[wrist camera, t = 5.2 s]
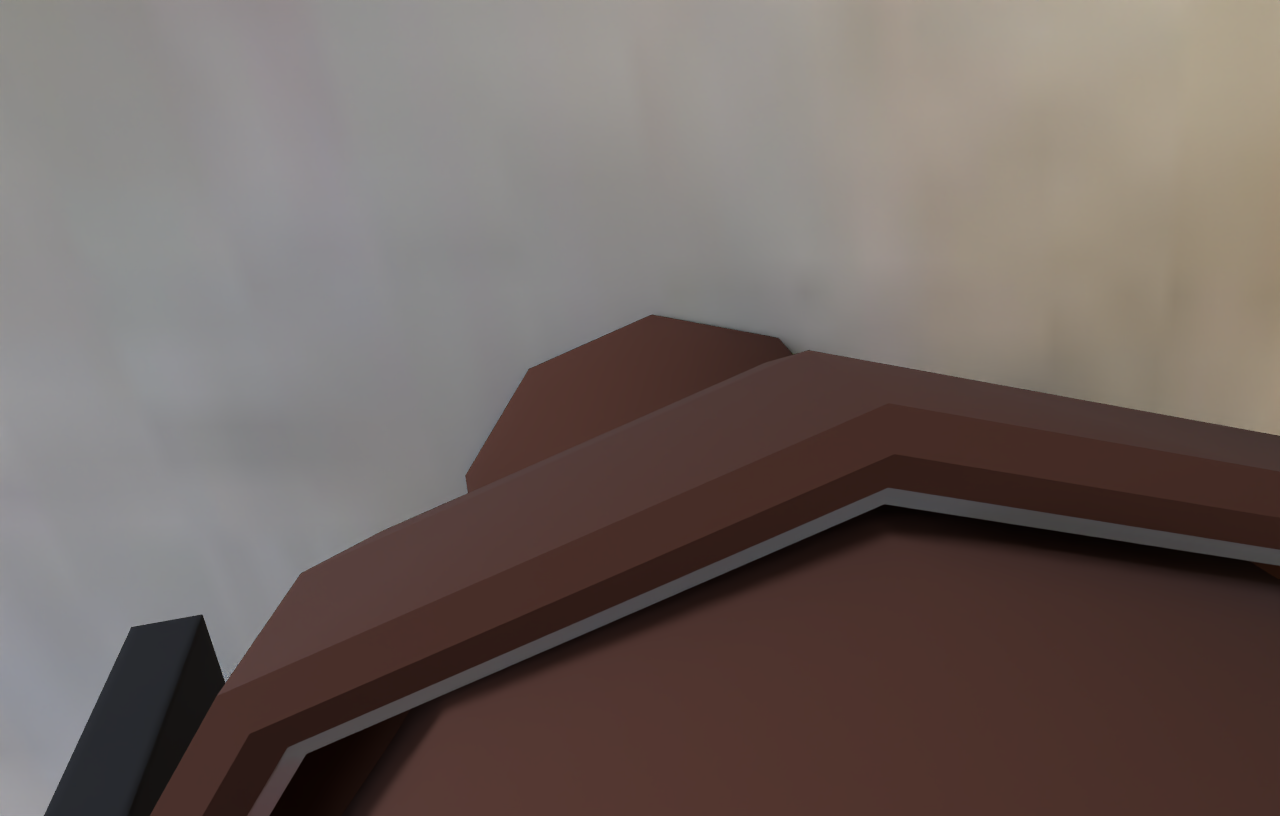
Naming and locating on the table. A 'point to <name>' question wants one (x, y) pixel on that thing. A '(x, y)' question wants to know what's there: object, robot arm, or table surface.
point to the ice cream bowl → (781, 609)
